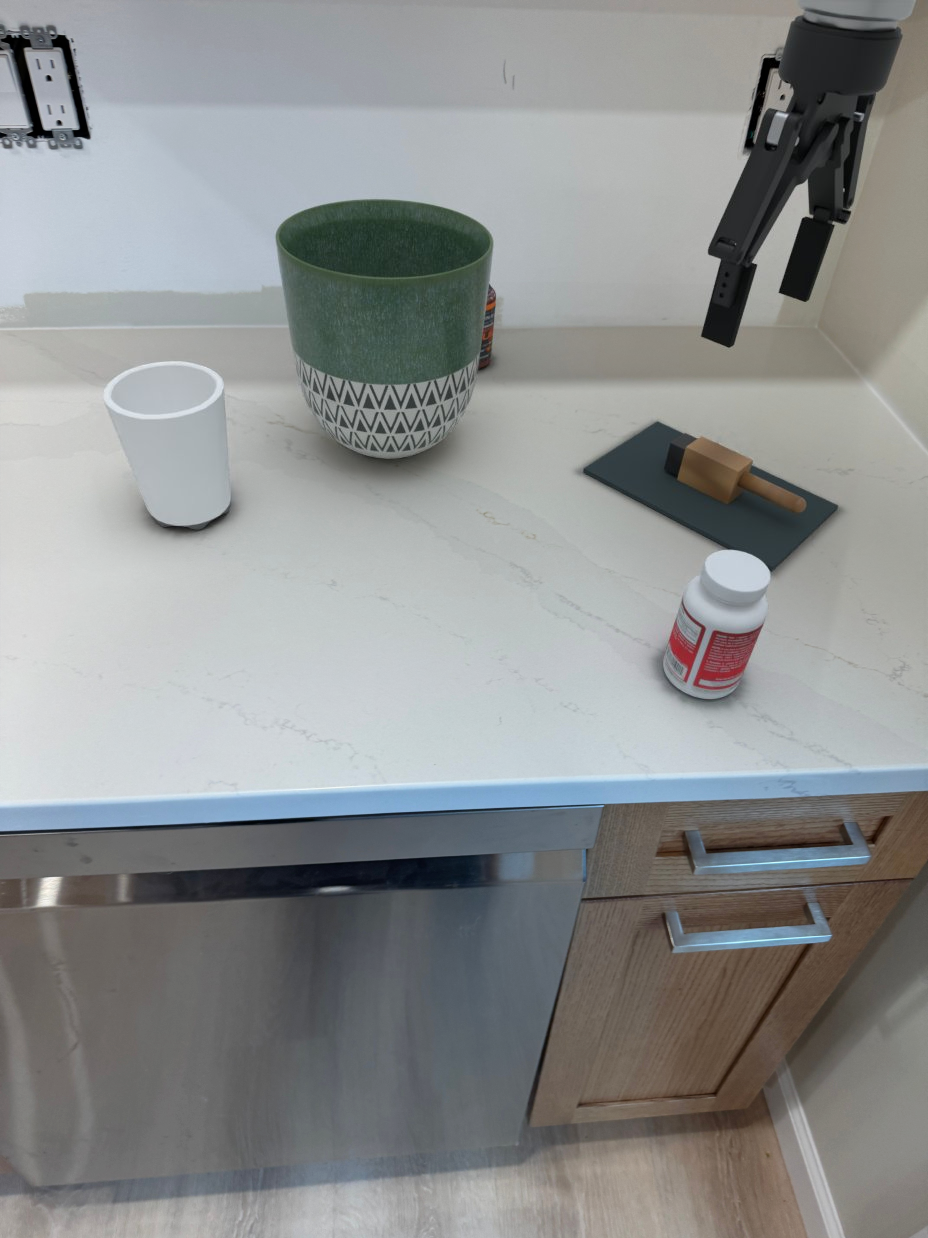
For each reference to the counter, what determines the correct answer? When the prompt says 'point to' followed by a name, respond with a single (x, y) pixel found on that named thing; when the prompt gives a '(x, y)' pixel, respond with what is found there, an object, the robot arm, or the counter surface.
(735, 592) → the pill bottle
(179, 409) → the cup
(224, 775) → the counter surface
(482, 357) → the supplement bottle
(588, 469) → the mat
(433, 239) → the planter
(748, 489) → the scrub brush
